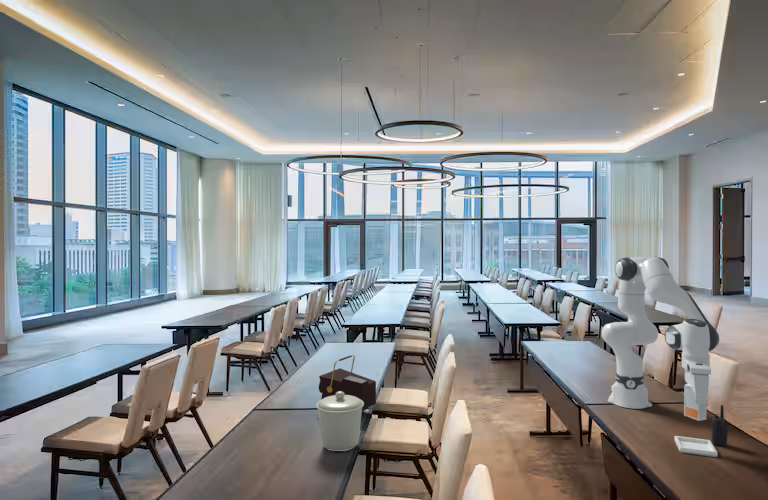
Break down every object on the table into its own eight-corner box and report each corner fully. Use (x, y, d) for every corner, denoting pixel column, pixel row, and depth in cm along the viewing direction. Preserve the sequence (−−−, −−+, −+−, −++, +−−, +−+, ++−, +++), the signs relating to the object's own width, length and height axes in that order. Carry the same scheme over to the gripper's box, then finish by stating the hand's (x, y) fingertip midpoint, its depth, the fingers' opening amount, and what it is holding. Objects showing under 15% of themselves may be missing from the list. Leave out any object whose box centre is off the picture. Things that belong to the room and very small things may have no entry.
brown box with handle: (338, 403, 238) (338, 351, 237) (379, 411, 226) (379, 357, 226) (317, 413, 224) (316, 358, 223) (359, 422, 212) (359, 364, 211)
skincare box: (683, 415, 186) (683, 384, 185) (691, 414, 187) (691, 382, 187) (699, 421, 180) (699, 388, 180) (707, 419, 181) (707, 387, 181)
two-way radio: (723, 442, 189) (723, 403, 189) (731, 447, 184) (732, 407, 184) (709, 442, 189) (709, 403, 188) (717, 447, 184) (717, 407, 184)
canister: (320, 459, 177) (320, 401, 176) (313, 440, 194) (312, 386, 193) (369, 453, 182) (369, 396, 181) (358, 434, 199) (357, 382, 199)
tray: (674, 440, 191) (674, 435, 191) (709, 444, 187) (709, 440, 187) (680, 452, 181) (680, 447, 180) (717, 457, 176) (717, 452, 176)
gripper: (680, 356, 194) (680, 391, 194) (691, 369, 175) (691, 408, 175) (699, 358, 192) (698, 393, 192) (712, 371, 173) (712, 410, 173)
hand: (695, 400), depth 183 cm, fingers closed on skincare box, 7 cm apart
